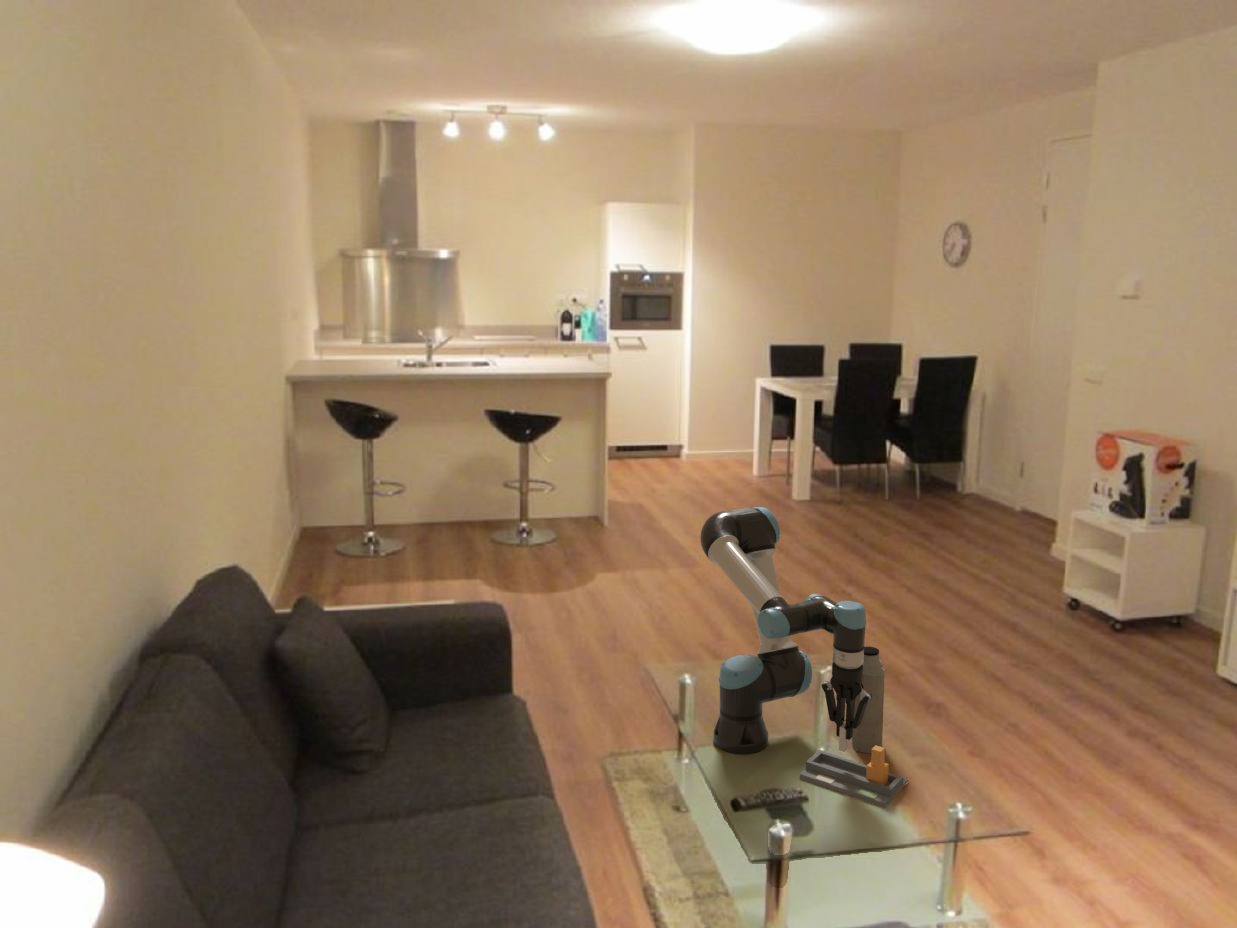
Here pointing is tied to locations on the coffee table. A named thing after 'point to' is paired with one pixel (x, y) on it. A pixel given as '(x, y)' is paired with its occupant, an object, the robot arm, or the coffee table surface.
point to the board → (850, 778)
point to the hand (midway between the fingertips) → (843, 748)
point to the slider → (877, 766)
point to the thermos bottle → (870, 703)
